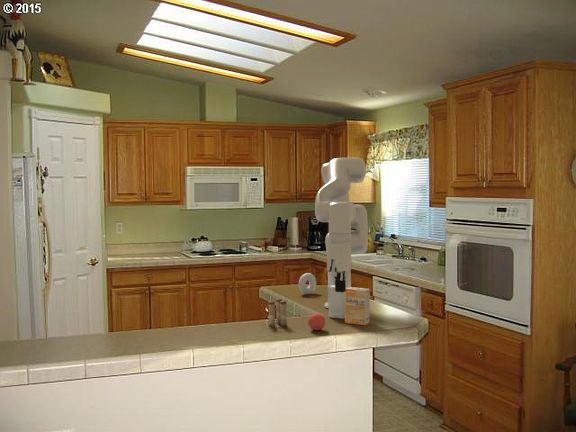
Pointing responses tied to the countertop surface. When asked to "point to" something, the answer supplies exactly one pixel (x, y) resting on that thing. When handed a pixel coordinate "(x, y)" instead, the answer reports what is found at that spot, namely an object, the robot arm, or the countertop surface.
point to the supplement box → (357, 306)
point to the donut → (303, 283)
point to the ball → (316, 321)
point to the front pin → (283, 313)
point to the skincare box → (336, 303)
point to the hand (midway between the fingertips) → (340, 291)
